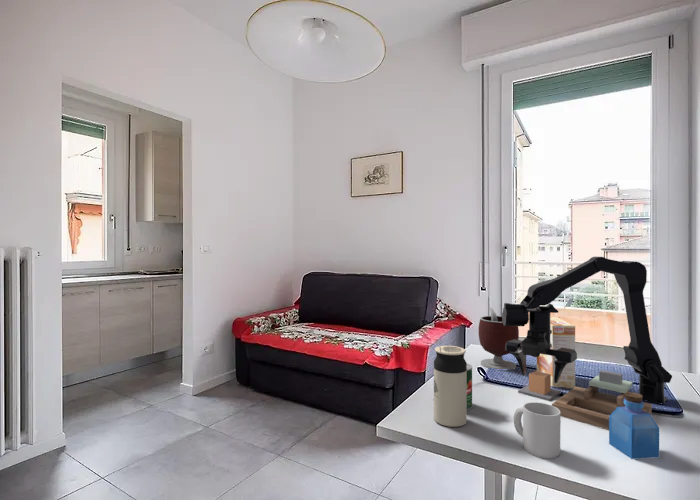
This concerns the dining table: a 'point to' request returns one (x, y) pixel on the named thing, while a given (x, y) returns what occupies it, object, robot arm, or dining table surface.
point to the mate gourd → (496, 340)
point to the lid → (611, 382)
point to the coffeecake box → (559, 339)
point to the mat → (548, 396)
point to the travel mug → (450, 386)
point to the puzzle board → (591, 406)
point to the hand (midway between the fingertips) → (539, 379)
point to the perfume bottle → (634, 429)
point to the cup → (539, 429)
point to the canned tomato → (469, 386)
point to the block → (540, 382)
